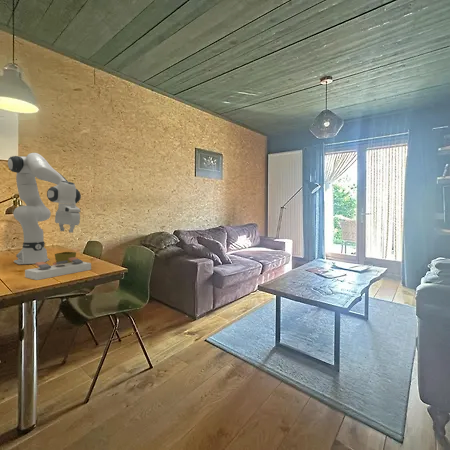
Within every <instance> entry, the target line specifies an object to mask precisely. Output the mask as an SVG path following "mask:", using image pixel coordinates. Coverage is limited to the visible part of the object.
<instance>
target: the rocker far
mask: <svg viewBox="0 0 450 450" xmlns="http://www.w3.org/2000/svg"><path fill="white" fill-rule="evenodd" d="M69 260H70V261H72V262H73V263H75V264H79V263H83V262H84V260H81V259H80V258H78V257H72V258H69Z"/></svg>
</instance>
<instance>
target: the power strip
mask: <svg viewBox="0 0 450 450" xmlns="http://www.w3.org/2000/svg"><path fill="white" fill-rule="evenodd" d="M50 266H51V268H49V269H41V268H39V267H36V268H35V267H34V268H28V269H24V278H26V279H31V280H35V281H39V280H45V279H50V278H56V277H59V276H65V275H70V274H75V273H80V272H85V271H91V270H92V263H91V262H88V261H87V262H86V261H83V263H79V264H75V263H73V262H72V263H65V264H59V265H53V264H52V265H50Z"/></svg>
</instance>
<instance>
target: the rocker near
mask: <svg viewBox="0 0 450 450" xmlns="http://www.w3.org/2000/svg"><path fill="white" fill-rule="evenodd" d="M34 265H35V266H36V267H37V268H41V269H49V268H51V266H52V265H50V264H48V263H47V262H37V263H35V264H34Z"/></svg>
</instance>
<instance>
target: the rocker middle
mask: <svg viewBox="0 0 450 450" xmlns="http://www.w3.org/2000/svg"><path fill="white" fill-rule="evenodd" d="M67 262H68V261H67V260H66V261H60V262H56V261H55V262H52V266H53V265H58V264H63V263H67Z"/></svg>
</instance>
